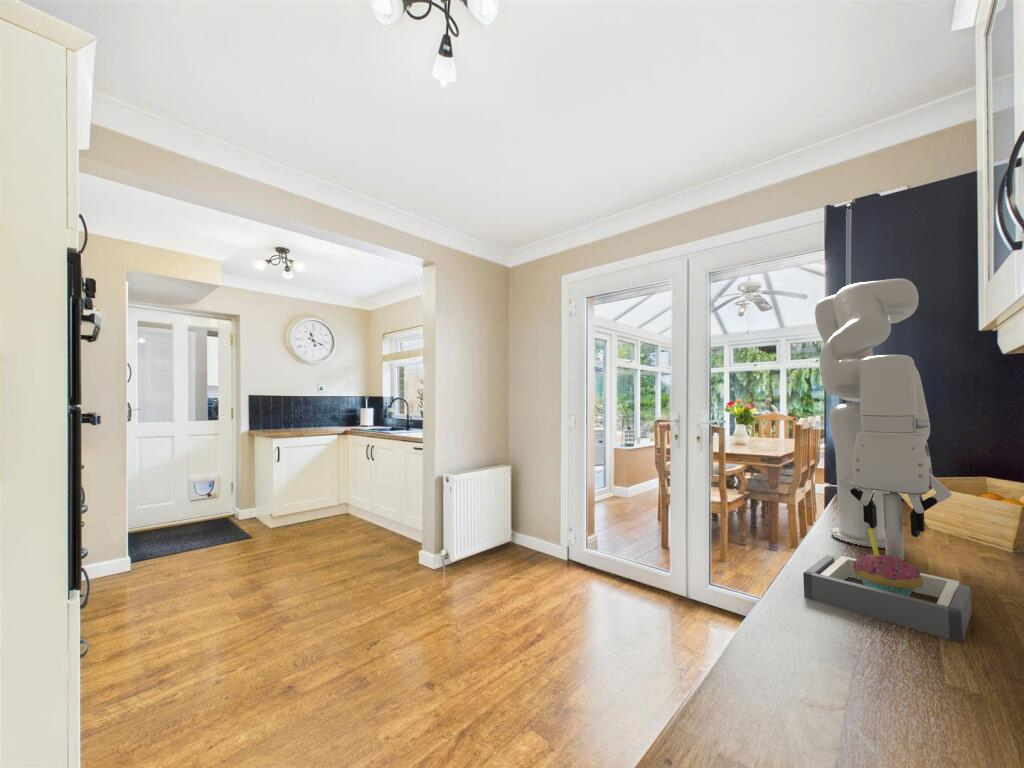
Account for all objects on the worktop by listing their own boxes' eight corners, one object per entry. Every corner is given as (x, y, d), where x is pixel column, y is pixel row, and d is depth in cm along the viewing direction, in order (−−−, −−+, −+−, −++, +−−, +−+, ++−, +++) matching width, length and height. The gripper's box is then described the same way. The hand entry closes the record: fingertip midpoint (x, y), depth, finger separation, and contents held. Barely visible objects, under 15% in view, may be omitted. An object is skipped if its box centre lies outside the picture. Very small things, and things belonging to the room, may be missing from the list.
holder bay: (827, 577, 81) (826, 554, 81) (971, 613, 67) (970, 586, 67) (804, 597, 73) (803, 572, 73) (962, 643, 59) (960, 612, 59)
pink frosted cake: (851, 601, 71) (848, 526, 72) (857, 584, 77) (854, 515, 78) (924, 618, 65) (920, 537, 66) (923, 599, 72) (920, 524, 72)
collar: (843, 571, 82) (840, 487, 83) (960, 599, 70) (955, 501, 71) (817, 595, 73) (813, 500, 73) (948, 631, 61) (942, 518, 61)
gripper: (960, 426, 72) (966, 538, 72) (836, 423, 86) (840, 517, 85) (955, 429, 68) (961, 548, 67) (823, 425, 81) (828, 525, 80)
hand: (893, 530), depth 76 cm, fingers open, 5 cm apart
